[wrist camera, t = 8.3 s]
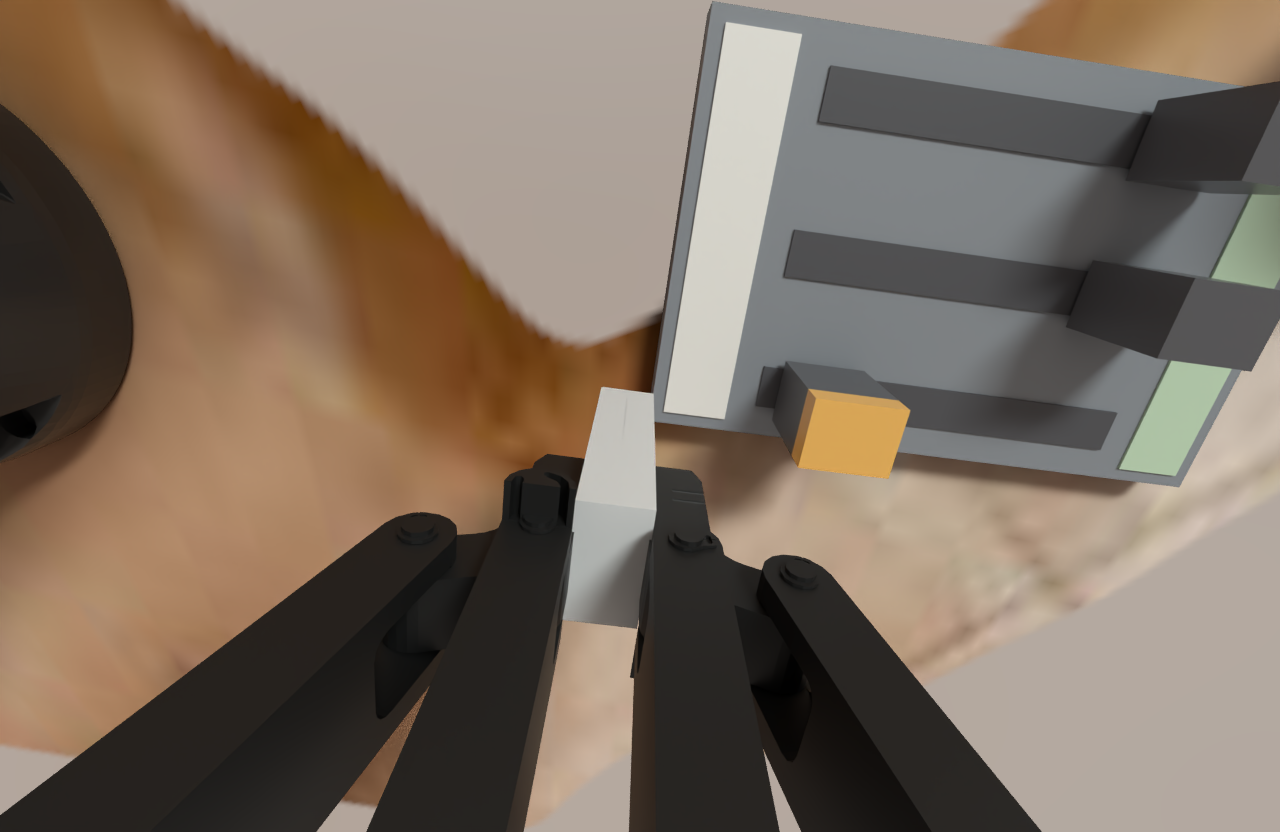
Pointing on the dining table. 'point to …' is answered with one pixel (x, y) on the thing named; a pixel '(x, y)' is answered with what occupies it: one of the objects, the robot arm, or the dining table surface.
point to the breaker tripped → (838, 420)
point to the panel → (938, 244)
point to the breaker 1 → (1214, 142)
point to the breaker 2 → (1176, 315)
